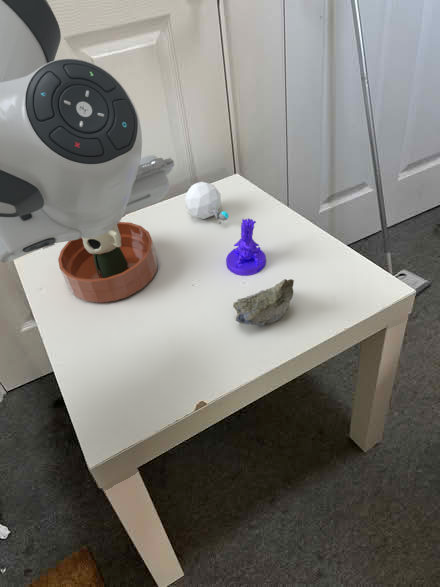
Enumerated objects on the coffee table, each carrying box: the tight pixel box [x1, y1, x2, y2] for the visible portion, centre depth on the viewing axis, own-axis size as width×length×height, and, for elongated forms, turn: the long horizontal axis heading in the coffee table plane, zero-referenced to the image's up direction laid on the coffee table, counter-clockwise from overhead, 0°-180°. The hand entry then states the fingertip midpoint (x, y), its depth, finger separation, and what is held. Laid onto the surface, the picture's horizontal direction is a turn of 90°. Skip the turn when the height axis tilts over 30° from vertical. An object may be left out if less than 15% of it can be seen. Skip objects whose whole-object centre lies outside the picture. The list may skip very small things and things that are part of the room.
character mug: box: [82, 225, 128, 278], centre depth 88 cm, size 11×7×13 cm, turn 52°
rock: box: [232, 278, 295, 328], centre depth 78 cm, size 11×6×10 cm
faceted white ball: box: [184, 181, 229, 221], centre depth 101 cm, size 8×8×12 cm
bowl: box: [57, 221, 158, 303], centre depth 91 cm, size 18×18×6 cm
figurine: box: [225, 217, 267, 277], centre depth 88 cm, size 8×8×10 cm
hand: (82, 226), depth 58 cm, fingers open, 8 cm apart
